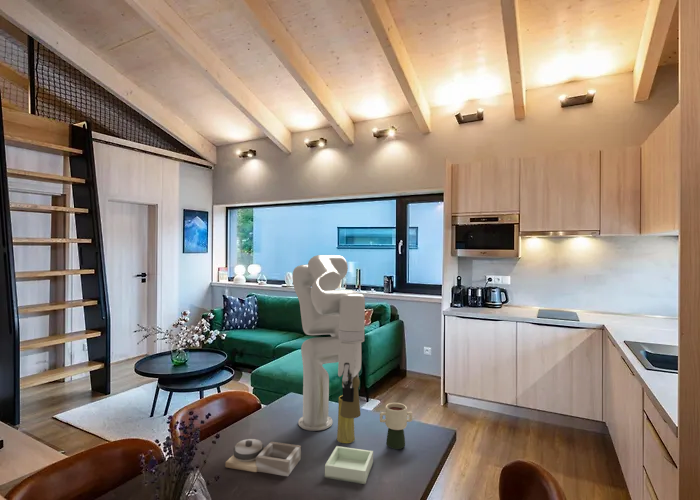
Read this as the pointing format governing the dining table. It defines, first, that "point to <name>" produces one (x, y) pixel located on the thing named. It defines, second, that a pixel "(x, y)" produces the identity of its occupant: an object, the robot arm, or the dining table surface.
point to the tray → (349, 464)
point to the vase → (345, 427)
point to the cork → (351, 407)
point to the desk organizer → (264, 457)
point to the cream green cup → (396, 424)
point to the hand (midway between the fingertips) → (350, 397)
